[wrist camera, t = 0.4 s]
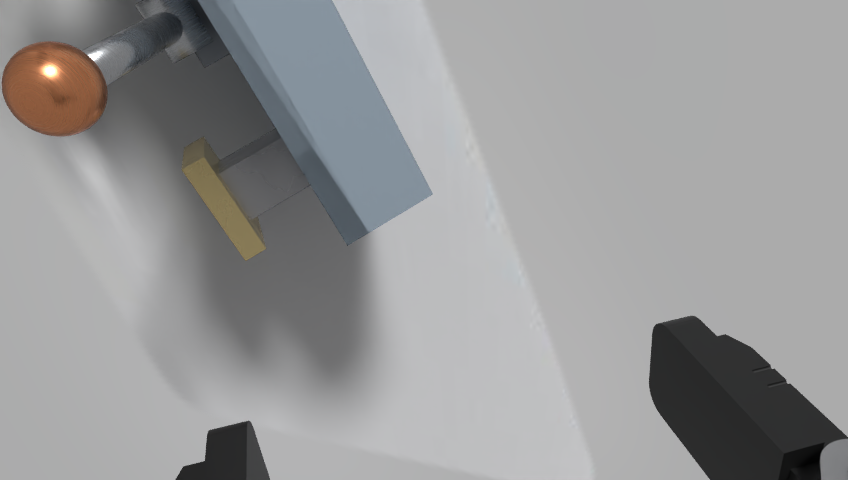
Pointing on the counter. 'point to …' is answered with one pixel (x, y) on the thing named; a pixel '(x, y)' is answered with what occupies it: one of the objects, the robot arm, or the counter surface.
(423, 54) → the counter surface
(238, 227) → the tan square block
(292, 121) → the block
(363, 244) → the counter surface
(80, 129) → the lever
